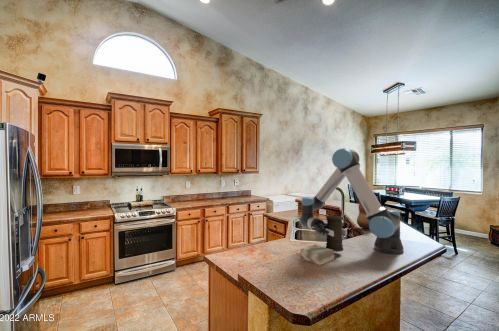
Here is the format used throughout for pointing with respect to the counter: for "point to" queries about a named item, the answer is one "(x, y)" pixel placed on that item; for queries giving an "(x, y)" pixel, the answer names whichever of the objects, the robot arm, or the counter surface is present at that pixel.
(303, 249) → the stand
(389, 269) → the counter surface
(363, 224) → the butternut squash
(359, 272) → the counter surface
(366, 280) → the counter surface
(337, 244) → the container
